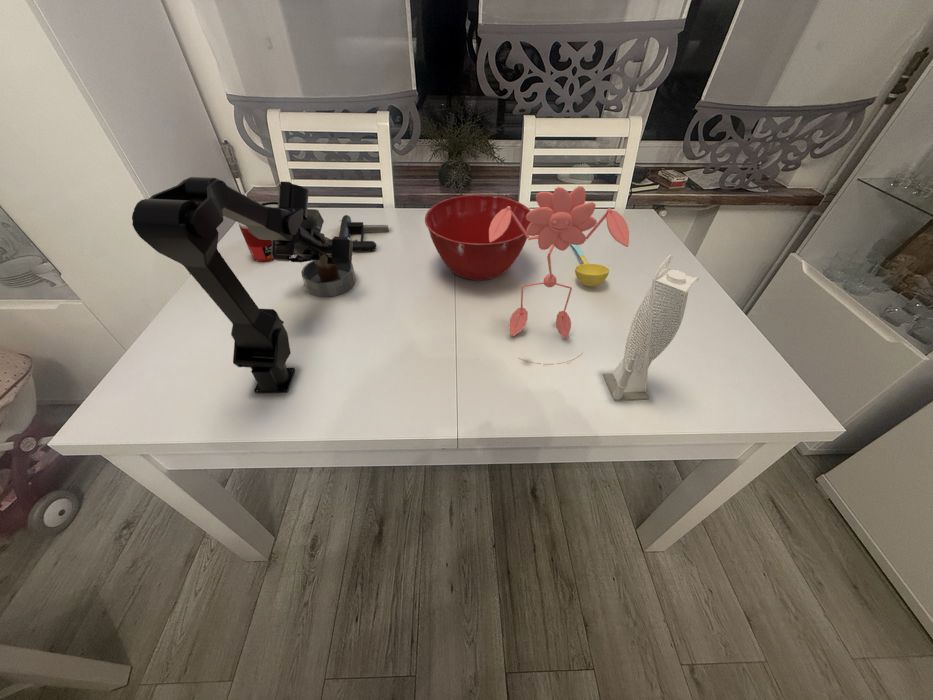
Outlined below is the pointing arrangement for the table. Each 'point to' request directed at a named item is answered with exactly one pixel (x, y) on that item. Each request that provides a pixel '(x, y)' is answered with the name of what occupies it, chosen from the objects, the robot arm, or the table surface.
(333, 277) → the pepper mill
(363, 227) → the door handle
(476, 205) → the mixing bowl
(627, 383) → the skyscraper
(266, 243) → the canned food
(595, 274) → the ladle
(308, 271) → the tin
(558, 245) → the figurine
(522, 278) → the table surface
